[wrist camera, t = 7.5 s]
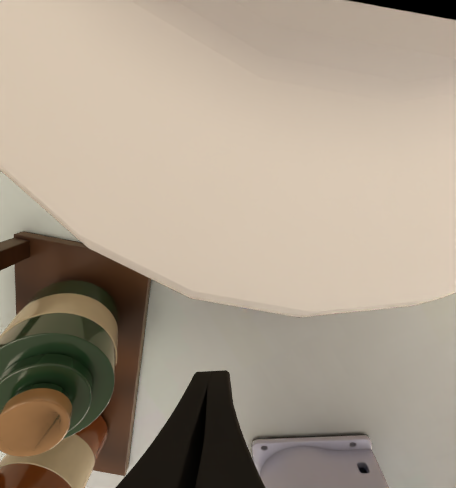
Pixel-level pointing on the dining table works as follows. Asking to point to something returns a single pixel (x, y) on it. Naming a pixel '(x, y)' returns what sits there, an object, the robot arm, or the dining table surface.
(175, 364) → the dining table surface
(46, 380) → the green bottle
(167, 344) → the dining table surface
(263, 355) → the dining table surface
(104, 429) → the amber bottle
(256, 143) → the cream white bottle
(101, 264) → the rack
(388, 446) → the dining table surface
